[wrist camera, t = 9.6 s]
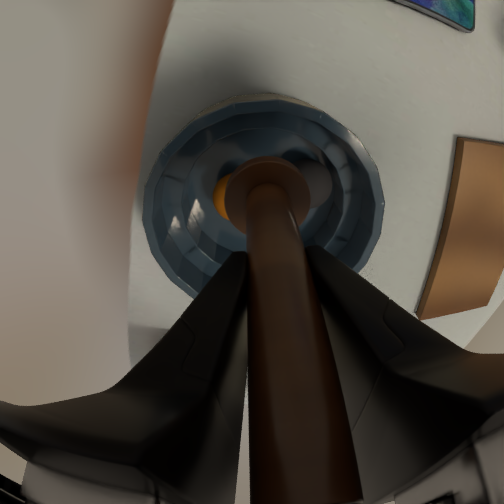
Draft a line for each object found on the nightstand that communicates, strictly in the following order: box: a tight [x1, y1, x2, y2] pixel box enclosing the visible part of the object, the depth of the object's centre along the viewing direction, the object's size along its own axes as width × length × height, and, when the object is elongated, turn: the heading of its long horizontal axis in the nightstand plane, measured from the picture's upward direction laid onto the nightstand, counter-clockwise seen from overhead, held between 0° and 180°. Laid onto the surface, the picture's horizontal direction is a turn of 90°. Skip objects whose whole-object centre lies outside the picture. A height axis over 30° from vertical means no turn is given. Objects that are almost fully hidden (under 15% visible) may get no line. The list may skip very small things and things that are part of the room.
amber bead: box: [213, 173, 232, 221], centre depth 18 cm, size 3×3×3 cm
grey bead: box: [293, 159, 332, 208], centre depth 18 cm, size 3×3×3 cm
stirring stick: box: [224, 156, 364, 504], centre depth 8 cm, size 4×4×12 cm
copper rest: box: [416, 137, 504, 320], centre depth 22 cm, size 18×10×1 cm, turn 5°
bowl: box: [142, 93, 385, 299], centre depth 18 cm, size 13×13×5 cm
